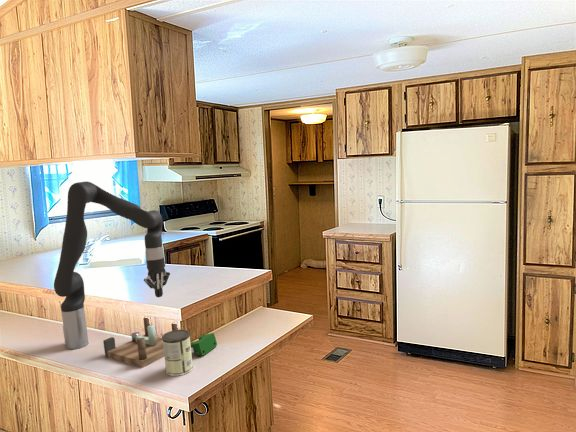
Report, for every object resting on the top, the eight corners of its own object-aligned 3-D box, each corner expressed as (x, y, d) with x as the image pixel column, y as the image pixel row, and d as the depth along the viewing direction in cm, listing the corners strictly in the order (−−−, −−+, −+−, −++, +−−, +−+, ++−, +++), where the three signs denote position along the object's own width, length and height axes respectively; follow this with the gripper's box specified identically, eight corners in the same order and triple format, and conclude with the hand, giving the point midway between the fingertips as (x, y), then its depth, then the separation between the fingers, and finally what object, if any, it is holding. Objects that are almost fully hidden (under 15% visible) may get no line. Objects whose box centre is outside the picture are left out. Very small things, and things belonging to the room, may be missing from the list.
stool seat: (105, 356, 188) (102, 332, 186) (147, 337, 206) (144, 315, 205) (142, 367, 175) (140, 341, 173) (184, 346, 193) (181, 322, 192)
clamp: (206, 356, 191) (205, 335, 194) (217, 355, 189) (216, 333, 192) (187, 357, 181) (186, 334, 184) (199, 355, 179) (198, 332, 182)
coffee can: (169, 364, 176) (165, 330, 174) (195, 362, 176) (192, 328, 174) (162, 377, 165) (158, 341, 164) (190, 375, 166) (187, 338, 164)
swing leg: (130, 340, 196) (128, 323, 195) (136, 338, 198) (134, 320, 197) (152, 346, 188) (150, 328, 187) (158, 343, 191) (156, 325, 190)
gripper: (161, 253, 198) (165, 291, 200) (136, 260, 187) (141, 300, 189) (173, 254, 194) (176, 293, 196) (148, 261, 183) (152, 302, 185)
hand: (159, 296), depth 193 cm, fingers closed
